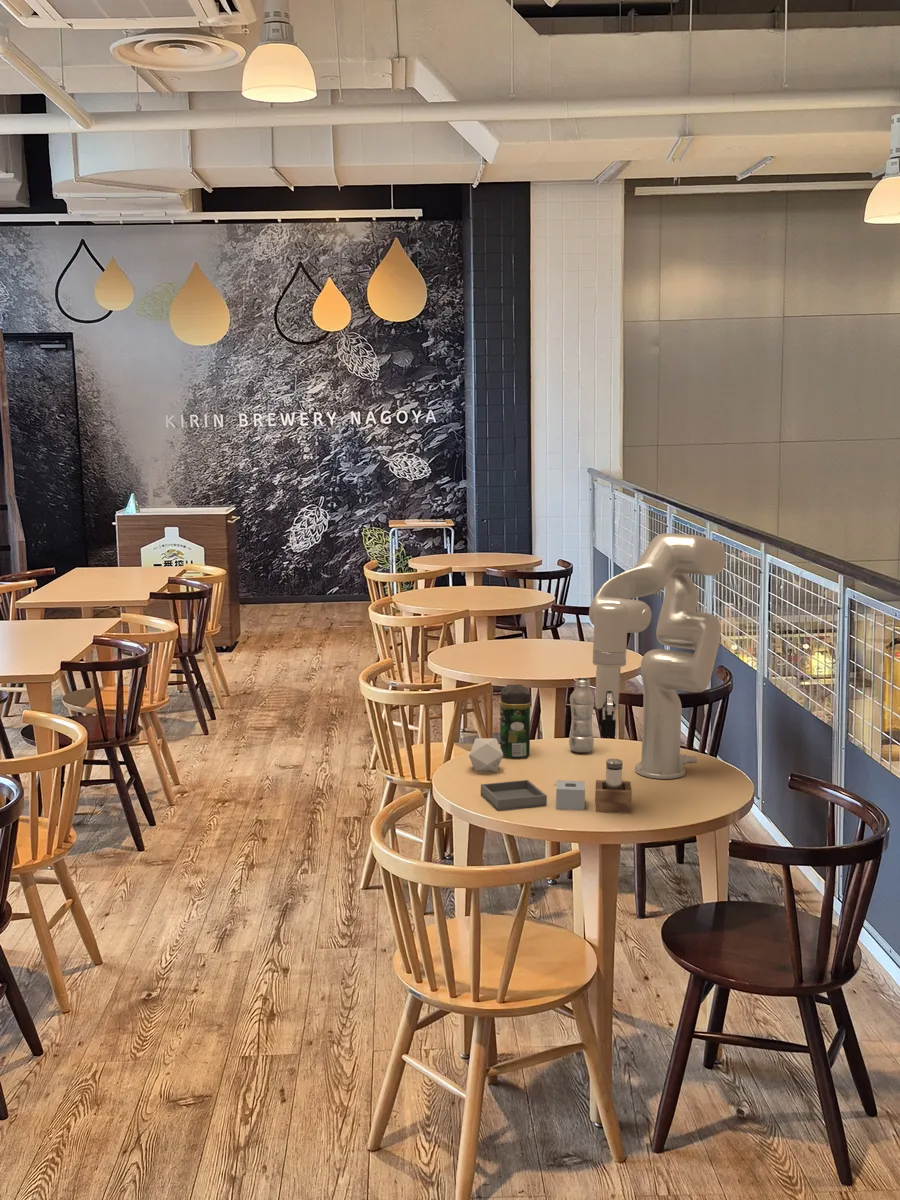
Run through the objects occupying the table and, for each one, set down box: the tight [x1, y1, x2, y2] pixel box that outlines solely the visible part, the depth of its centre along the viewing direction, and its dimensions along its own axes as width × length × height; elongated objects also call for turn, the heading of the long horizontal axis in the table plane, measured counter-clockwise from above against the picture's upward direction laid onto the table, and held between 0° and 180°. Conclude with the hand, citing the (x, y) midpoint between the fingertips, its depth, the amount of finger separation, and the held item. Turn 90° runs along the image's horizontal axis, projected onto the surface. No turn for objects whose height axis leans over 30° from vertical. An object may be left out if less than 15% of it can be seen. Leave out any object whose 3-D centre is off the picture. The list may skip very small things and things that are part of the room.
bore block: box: [594, 779, 633, 814], centre depth 268 cm, size 8×8×5 cm
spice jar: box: [605, 758, 623, 790], centre depth 267 cm, size 4×4×11 cm
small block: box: [555, 779, 586, 811], centre depth 269 cm, size 6×6×5 cm
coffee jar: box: [499, 684, 531, 760], centre depth 307 cm, size 10×8×19 cm
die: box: [468, 737, 504, 773], centre depth 294 cm, size 8×9×10 cm
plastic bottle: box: [568, 677, 595, 754], centre depth 310 cm, size 6×7×20 cm
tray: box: [480, 779, 548, 812], centre depth 272 cm, size 12×12×2 cm
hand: (606, 731), depth 265 cm, fingers open, 9 cm apart
